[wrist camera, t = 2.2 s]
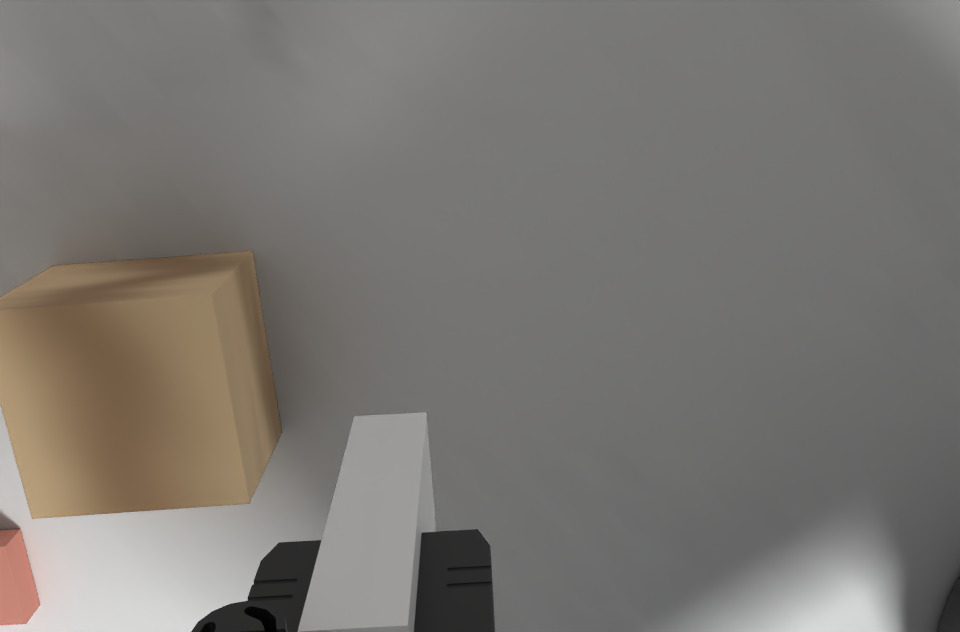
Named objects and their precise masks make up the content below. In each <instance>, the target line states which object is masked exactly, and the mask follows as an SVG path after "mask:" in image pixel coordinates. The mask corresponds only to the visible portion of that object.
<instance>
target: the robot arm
mask: <svg viewBox="0 0 960 632" xmlns="http://www.w3.org/2000/svg"><path fill="white" fill-rule="evenodd" d="M191 632H495V620H494V603H493V586H492V568H491V551H490V545H489V544H488V542H487V541H486V540H485V538H484V537H483V536H482V534H481V533H480V532H479V531H478V529H476V530H458V531H440V532H436V521H435V508H434V496H433V484H432V472H431V460H430V448H429V435H428V423H427V412H418V413H401V414H383V415H365V416H354V419H353V423H352V427H351V430H350V434H349V438H348V442H347V446H346V449H345V453H344V457H343V461H342V465H341V468H340V472H339V476H338V480H337V484H336V487H335V491H334V495H333V499H332V503H331V506H330V510H329V514H328V518H327V522H326V525H325V529H324V533H323V537H322V540H317V541H299V542H281V543H278V544H277V545H276V546H275V547H274V548H273V549H272V550H271V551H270V552H269V553H268V554H267V555H266V556H265V557H264V558H263V559H262V560H261V562H260V565H259V568H258V571H257V574H256V576H255V579H254V585H252V587H251V590H250V593H249V596H248V601H244V602H238V603H233V604H229V605H226V606H224V607H222V608H219V609H217V610H215V611H212V612H211V613H210V614H208V615H207V616H206V617H204V618H203V619H202V620H200V621H199V622H198V623H197V624H196V626H195V627H194V629H193V630H192V631H191ZM937 632H960V578H959V580H958V581H957V583H956V585H955V587H954V589H953V590H952V593H951V595H950V597H949V599H948V601H947V604H946V606H945V609H944V612H943V614H942V617H941V620H940V624H939V628H938V631H937Z"/></svg>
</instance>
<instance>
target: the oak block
mask: <svg viewBox="0 0 960 632" xmlns="http://www.w3.org/2000/svg"><path fill="white" fill-rule="evenodd" d="M0 405H1V408H2V412H3V415H4V419H5V423H6V426H7V430H8V434H9V437H10V441H11V445H12V448H13V452H14V455H15V459H16V463H17V466H18V470H19V474H20V477H21V481H22V485H23V488H24V492H25V495H26V499H27V503H28V506H29V510H30V514H31V517H32V519H36V518H51V517H65V516H79V515H94V514H108V513H122V512H136V511H151V510H165V509H179V508H194V507H208V506H222V505H237V504H250V501H251V499H252V497H253V495H254V493H255V490H256V488H257V486H258V484H259V482H260V479H261V477H262V475H263V473H264V470H265V468H266V466H267V464H268V462H269V459H270V457H271V455H272V453H273V450H274V448H275V446H276V444H277V442H278V439H279V437H280V435H281V433H282V430H281V424H280V418H279V411H278V405H277V399H276V393H275V387H274V381H273V374H272V368H271V362H270V356H269V350H268V344H267V338H266V331H265V325H264V319H263V313H262V307H261V301H260V294H259V288H258V282H257V276H256V270H255V264H254V258H253V251H245V252H232V253H218V254H204V255H190V256H177V257H163V258H149V259H136V260H122V261H108V262H94V263H81V264H67V265H53V266H51V267H50V268H48V269H46V270H45V271H43V272H41V273H40V274H38V275H36V276H35V277H33V278H31V279H30V280H28V281H26V282H25V283H23V284H21V285H20V286H18V287H16V288H15V289H13V290H11V291H9V292H8V293H6V294H4V295H3V296H1V297H0Z"/></svg>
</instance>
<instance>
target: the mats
mask: <svg viewBox="0 0 960 632" xmlns="http://www.w3.org/2000/svg"><path fill="white" fill-rule="evenodd" d="M39 606H40V602H39V598H38V594H37V590H36V586H35V583H34V579H33V575H32V571H31V567H30V563H29V560H28V556H27V552H26V548H25V544H24V540H23V537H22V533H21V529H13V530H0V625H13V624H26V623H27V622H28V621H29V619H30V618H31V617H32V615H33V614H34V612H35V611H36V610H37V608H38V607H39Z"/></svg>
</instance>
